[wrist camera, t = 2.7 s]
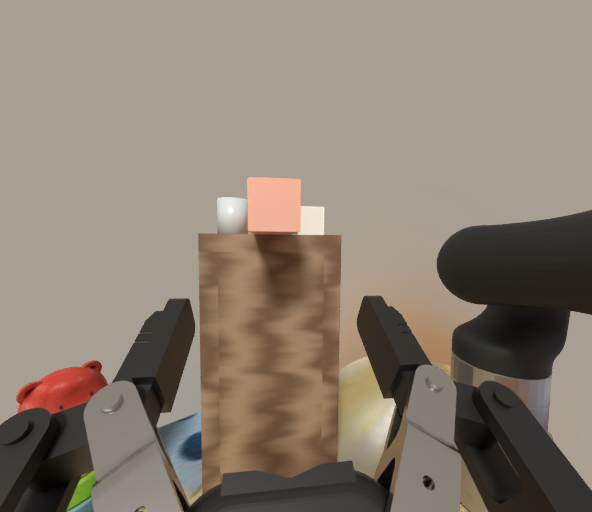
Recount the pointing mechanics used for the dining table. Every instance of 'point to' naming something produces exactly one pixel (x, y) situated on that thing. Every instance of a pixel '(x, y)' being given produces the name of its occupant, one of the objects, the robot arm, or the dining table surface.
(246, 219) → the grey-blue round brick
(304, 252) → the walnut shelf
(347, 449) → the dining table surface
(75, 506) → the stacking bear
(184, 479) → the dining table surface
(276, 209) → the coral bar brick
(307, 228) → the off-white block brick
